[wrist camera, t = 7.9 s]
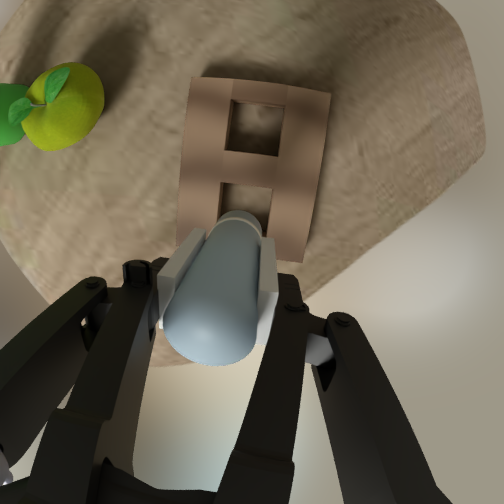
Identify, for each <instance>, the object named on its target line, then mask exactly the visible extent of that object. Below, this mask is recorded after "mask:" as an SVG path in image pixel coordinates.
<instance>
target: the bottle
mask: <svg viewBox="0 0 504 504" xmlns="http://www.w3.org/2000/svg"><path fill="white" fill-rule="evenodd" d="M28 89H29V87H27V86H25V85H21V84H6V83H0V146H4V145H10V144H15V143H16V142H18V141H19V140H21V138H22V137H23V136H24V134H25V132H24V130H23V128H22V124H21V122H20V123H18V124H16V125H14V126H11V125H10V124H9V120H8V115H9V108H10V106H11V104H13V103H14V102H15V101H17V100H19V99H21V98H24V97H25V95H26V93H27V91H28Z"/></svg>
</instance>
